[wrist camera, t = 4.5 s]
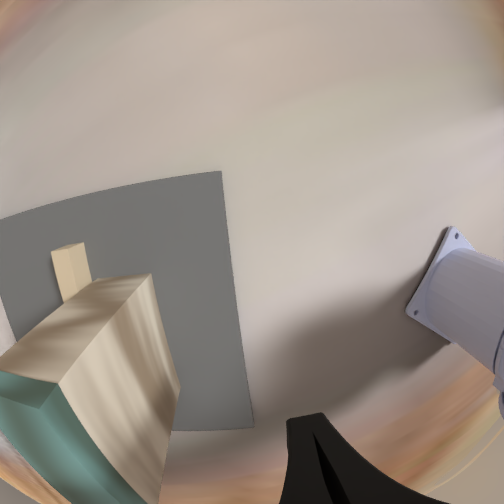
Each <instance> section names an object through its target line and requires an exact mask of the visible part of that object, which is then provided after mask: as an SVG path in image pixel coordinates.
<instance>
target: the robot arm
mask: <svg viewBox="0 0 504 504" xmlns="http://www.w3.org/2000/svg"><path fill="white" fill-rule="evenodd" d="M455 234H456V236H455ZM415 310H416V311H415ZM414 311H415V313H414ZM405 312H406V314H407V315H408V316H410V317H412V318H413V319H415V320H417V321H418V322H420V323H421V324H423V325H425V326H426V327H428V328H429V329H431V330H433V331H434V332H436V333H437V334H439V335H441V336H442V337H444V338H445V339H447V340H449V341H450V342H452V343H453V344H458V345H459V346H461V347H462V348H463V349H464V350H466V351H467V352H468V353H469V354H471V355H472V356H473V357H474V358H476V359H477V360H478V361H479V362H480V363H482V364H483V365H484V366H485V367H487V368H488V369H489V370H490V371H491V372H492V373H494V374H495V379H494V382H493V385H494V386H495V387H496V388H497V389H498V390H499V391H500V395H499V402H498V403H499V409H500V413H501V415H502V417H503V419H504V261H502V260H499V259H496V258H493V257H490V256H488V255H485V254H482V253H479V252H476V250H475V249H474V248H473V247H472V245H471V244H470V243H469V242H468V241H467V239H466V238H465V237H464V236H463V235H462V234H461V233H460V231H459V230H458V229H457V228H456V227H454V226H450V227H449V228H448V230H447V232H446V235H445V237H444V239H443V241H442V243H441V245H440V247H439V249H438V251H437V253H436V255H435V257H434V259H433V261H432V263H431V265H430V267H429V269H428V271H427V273H426V275H425V276H424V278H423V280H422V282H421V284H420V285H419V287H418V289H417V291H416V292H415V294H414V296H413V297H412V299H411V301H410V302H409V304H408V305H407V307H406V311H405ZM286 426H287V449H288V465H287V471H286V477H285V482H284V487H283V491H282V495H281V499H280V502H279V504H449V503H446V502H442V501H439V500H436V499H433V498H430V497H427V496H425V495H422V494H420V493H418V492H416V491H414V490H412V489H409V488H407V487H405V486H403V485H402V484H400V483H398V482H396V481H395V480H393V479H391V478H390V477H388V476H387V475H385V474H384V473H382V472H381V471H380V470H378V469H377V468H376V467H374V466H373V465H372V464H371V463H369V462H368V461H367V460H366V459H365V458H363V457H362V456H361V455H360V454H359V453H358V452H357V451H356V450H355V449H354V448H353V447H352V446H351V445H350V444H349V443H348V442H347V441H346V440H345V439H344V438H343V437H342V436H341V435H340V434H339V432H338V431H337V430H336V429H335V428H334V427H333V425H332V424H331V423H330V422H329V420H328V419H327V418H326V416H325V415H324V414H323V413H322V412H320V413H316V414H311V415H306V416H301V417H295V418H290V419H288V420H287V421H286Z"/></svg>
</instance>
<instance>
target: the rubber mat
mask: <svg viewBox="0 0 504 504" xmlns="http://www.w3.org/2000/svg"><path fill="white" fill-rule="evenodd" d="M148 273H151V275H152V280H153V285H154V289H155V294H156V298H157V303H158V307H159V311H160V316H161V320H162V324H163V328H164V331H165V335H166V339H167V343H168V346H169V350H170V353H171V357H172V360H173V364H174V367H175V370H176V374H177V377H178V380H179V383H180V386H181V388H180V392H179V397H178V401H177V406H176V411H175V415H174V420H173V425H172V430H171V431H211V430H230V429H243V428H253V427H254V421H253V415H252V408H251V402H250V395H249V389H248V382H247V375H246V368H245V362H244V355H243V347H242V340H241V333H240V326H239V318H238V311H237V303H236V295H235V287H234V279H233V271H232V263H231V255H230V246H229V238H228V229H227V220H226V211H225V202H224V193H223V183H222V173H221V171H214V172H206V173H199V174H191V175H184V176H178V177H171V178H165V179H159V180H153V181H148V182H142V183H137V184H132V185H127V186H122V187H117V188H112V189H108V190H103V191H99V192H94V193H90V194H86V195H82V196H78V197H74V198H70V199H66V200H63V201H59V202H55V203H52V204H48V205H45V206H41V207H38V208H35V209H31V210H28V211H25V212H22V213H19V214H16V215H13V216H10V217H7V218H4V219H1V220H0V296H1V299H2V302H3V306H4V309H5V312H6V315H7V317H8V320H9V323H10V326H11V328H12V331H13V333H14V336H15V338H16V341H17V342H18V341H19V340H20V339H21V338H22V337H24V336H25V335H26V334H27V333H28V332H29V331H31V330H32V329H33V328H34V327H35V326H37V325H38V324H39V323H40V322H41V321H43V320H44V319H45V318H46V317H48V316H49V315H50V314H51V313H53V312H54V311H55V310H56V309H58V308H59V307H60V306H61V305H63V304H64V303H65V302H67V301H68V300H69V299H71V298H72V297H73V296H74V295H76V294H77V293H78V292H80V291H81V290H82V289H84V288H85V287H86V286H88V285H89V284H91V283H92V282H93V281H95V280H96V279H97V278H108V277H118V276H128V275H138V274H148Z"/></svg>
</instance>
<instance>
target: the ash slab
mask: <svg viewBox="0 0 504 504" xmlns="http://www.w3.org/2000/svg"><path fill="white" fill-rule="evenodd" d="M180 388H181V386H180V383H179V380H178V377H177V374H176V370H175V367H174V364H173V360H172V357H171V353H170V350H169V346H168V343H167V339H166V335H165V331H164V328H163V324H162V320H161V316H160V311H159V307H158V303H157V298H156V294H155V289H154V285H153V280H152V275H151V273H148V274H138V275H128V276H118V277H108V278H97V279H96V280H95V281H93V282H92V283H91V284H89V285H88V286H86V287H85V288H84V289H82V290H81V291H80V292H78V293H77V294H76V295H74V296H73V297H72V298H71V299H69V300H68V301H67V302H65V303H64V304H63V305H61V306H60V307H59V308H58V309H56V310H55V311H54V312H53V313H51V314H50V315H49V316H48V317H46V318H45V319H44V320H43V321H41V322H40V323H39V324H38V325H37V326H35V327H34V328H33V329H32V330H31V331H29V332H28V333H27V334H26V335H25V336H24V337H22V338H21V339H20V340H19V341H18V342H17V343H15V344H14V345H13V346H12V347H11V348H10V349H9V350H8V351H6V352H5V353H4V354H3V355H2V356H1V357H0V429H1V431H2V432H3V433H4V435H5V436H6V437H7V438H8V440H9V441H10V442H11V443H12V445H13V446H14V447H15V448H16V449H17V451H18V452H19V453H20V454H21V455H22V456H23V457H24V458H25V460H26V461H27V462H28V463H29V464H30V465H31V466H32V467H33V468H34V469H35V470H36V471H37V472H38V473H39V474H40V475H41V476H42V477H43V478H44V479H45V480H46V481H47V482H48V483H49V484H50V485H51V486H52V487H53V488H54V489H56V490H57V491H58V492H59V493H60V494H61V495H62V496H64V497H65V498H66V499H67V500H68V501H70V502H71V503H72V504H158V501H159V495H160V489H161V483H162V477H163V472H164V466H165V461H166V455H167V450H168V445H169V440H170V435H171V430H172V425H173V420H174V415H175V411H176V406H177V401H178V397H179V392H180Z"/></svg>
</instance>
